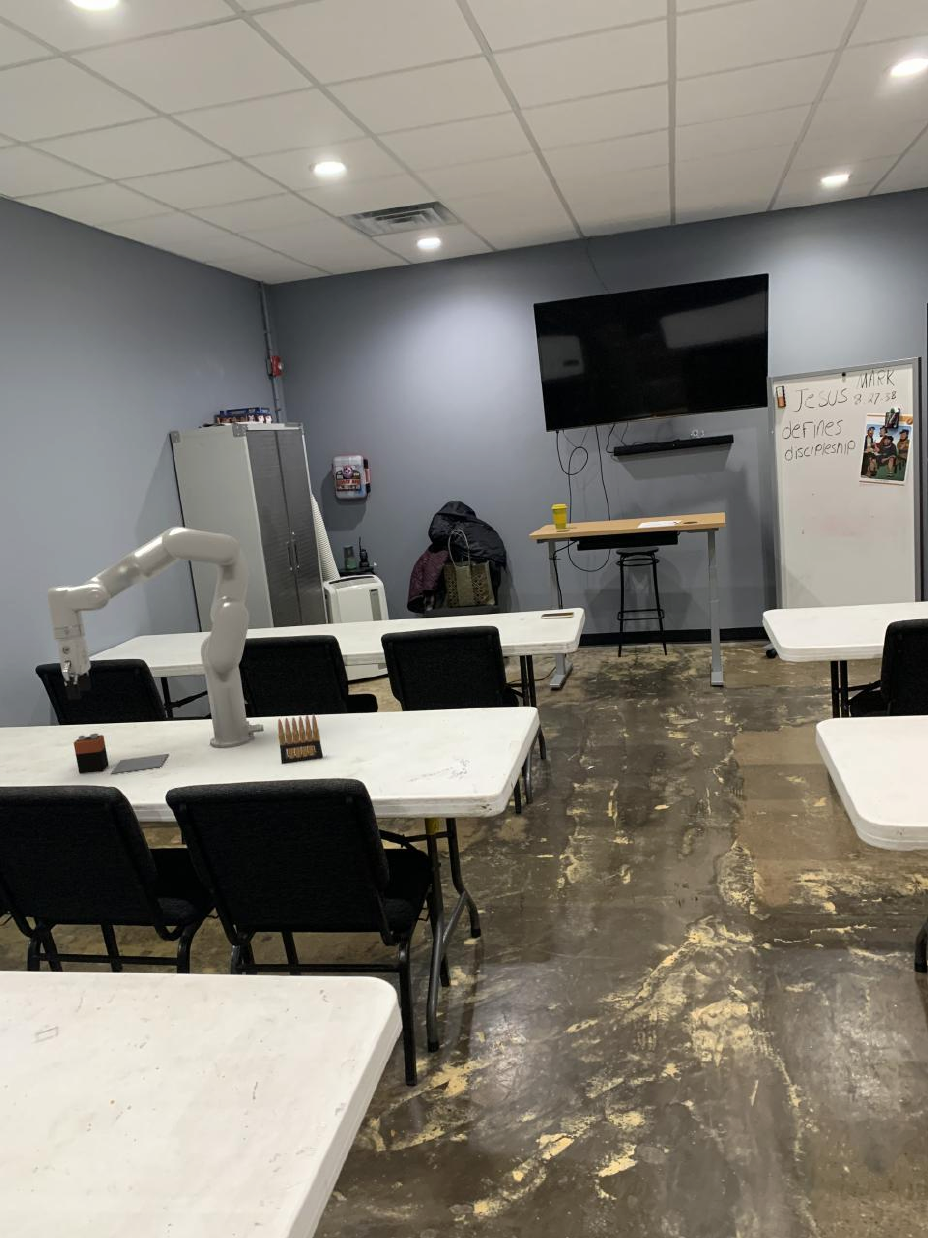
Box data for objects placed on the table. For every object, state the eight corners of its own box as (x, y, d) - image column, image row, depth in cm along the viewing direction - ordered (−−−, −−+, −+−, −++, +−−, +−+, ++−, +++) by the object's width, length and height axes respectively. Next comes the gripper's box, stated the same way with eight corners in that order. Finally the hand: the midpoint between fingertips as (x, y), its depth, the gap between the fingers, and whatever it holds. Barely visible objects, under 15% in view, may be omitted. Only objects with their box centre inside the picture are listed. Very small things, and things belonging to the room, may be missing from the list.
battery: (104, 771, 234) (97, 736, 232) (78, 774, 234) (72, 739, 232) (109, 766, 238) (103, 731, 236) (84, 769, 238) (78, 734, 236)
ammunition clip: (322, 756, 228) (317, 712, 226) (322, 758, 226) (316, 714, 224) (282, 762, 227) (275, 718, 225) (281, 764, 225) (275, 720, 223)
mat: (168, 755, 243) (168, 753, 243) (161, 767, 232) (160, 766, 232) (120, 761, 241) (120, 760, 241) (111, 774, 230) (110, 773, 230)
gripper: (74, 636, 221) (85, 701, 224) (92, 625, 238) (102, 685, 241) (43, 639, 220) (54, 704, 223) (64, 628, 237) (74, 689, 240)
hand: (79, 694), depth 232 cm, fingers open, 9 cm apart
